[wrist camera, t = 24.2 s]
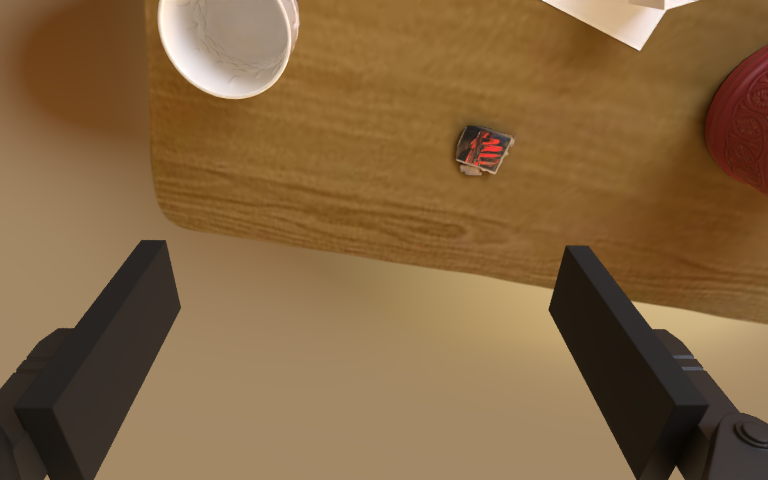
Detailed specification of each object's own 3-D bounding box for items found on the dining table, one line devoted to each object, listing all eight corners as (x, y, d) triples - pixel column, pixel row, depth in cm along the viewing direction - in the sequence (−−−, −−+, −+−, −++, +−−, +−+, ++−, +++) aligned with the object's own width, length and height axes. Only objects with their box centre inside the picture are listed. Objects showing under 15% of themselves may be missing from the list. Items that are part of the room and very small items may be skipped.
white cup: (204, 56, 39) (158, 85, 31) (206, -55, 35) (155, -58, 27) (301, 76, 40) (283, 110, 32) (313, -30, 36) (297, -25, 28)
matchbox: (460, 124, 43) (461, 125, 42) (517, 127, 43) (518, 129, 43) (452, 173, 45) (453, 175, 45) (506, 176, 45) (507, 178, 45)
